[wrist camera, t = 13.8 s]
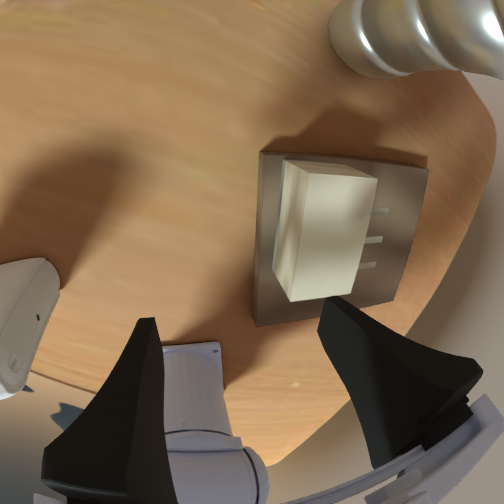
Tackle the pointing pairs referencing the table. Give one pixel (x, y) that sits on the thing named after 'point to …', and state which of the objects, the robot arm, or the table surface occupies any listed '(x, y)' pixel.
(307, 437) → the table surface
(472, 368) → the robot arm
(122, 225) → the table surface
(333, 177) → the block
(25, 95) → the table surface
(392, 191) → the grey flat square block
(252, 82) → the table surface
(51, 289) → the photo printer
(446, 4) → the plastic bottle
